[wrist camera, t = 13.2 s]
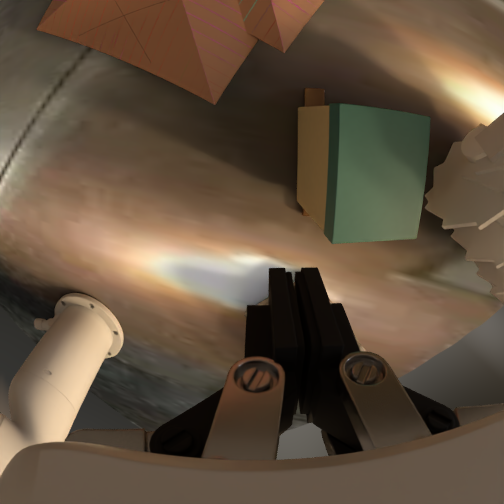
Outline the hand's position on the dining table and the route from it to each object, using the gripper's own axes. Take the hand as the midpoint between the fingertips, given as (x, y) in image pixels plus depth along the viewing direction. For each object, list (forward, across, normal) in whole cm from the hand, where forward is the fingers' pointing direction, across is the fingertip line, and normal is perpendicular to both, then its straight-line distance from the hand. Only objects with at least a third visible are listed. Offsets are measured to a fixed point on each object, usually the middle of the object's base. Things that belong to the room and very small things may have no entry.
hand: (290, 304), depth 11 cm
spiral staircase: (+24, -29, +1) cm, 37 cm away
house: (+24, +10, -25) cm, 36 cm away
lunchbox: (+17, -4, -2) cm, 18 cm away
